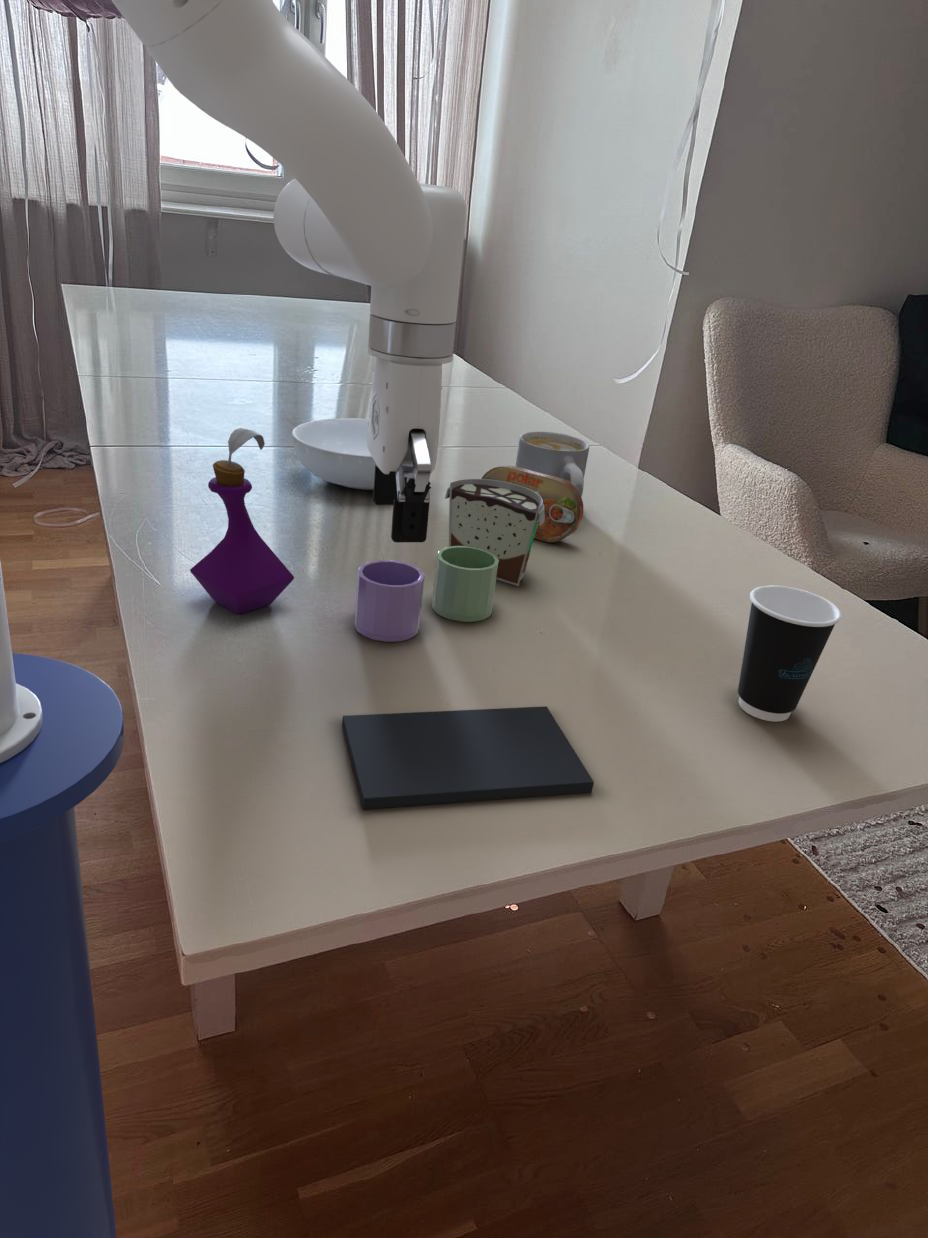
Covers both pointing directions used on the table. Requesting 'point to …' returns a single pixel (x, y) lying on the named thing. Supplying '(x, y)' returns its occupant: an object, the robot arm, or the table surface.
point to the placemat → (461, 756)
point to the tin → (547, 500)
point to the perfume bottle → (240, 544)
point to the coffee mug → (554, 456)
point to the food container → (495, 522)
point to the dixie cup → (782, 648)
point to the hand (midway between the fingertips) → (398, 521)
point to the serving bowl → (337, 451)
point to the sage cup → (464, 583)
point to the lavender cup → (388, 600)
